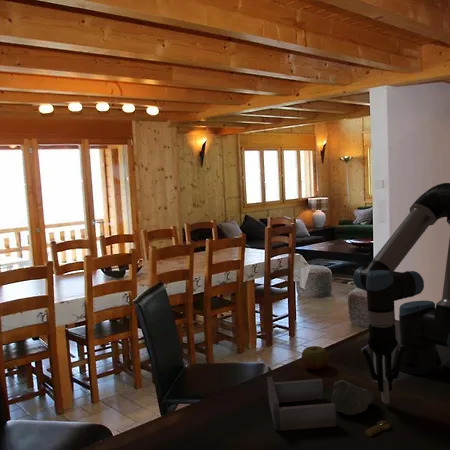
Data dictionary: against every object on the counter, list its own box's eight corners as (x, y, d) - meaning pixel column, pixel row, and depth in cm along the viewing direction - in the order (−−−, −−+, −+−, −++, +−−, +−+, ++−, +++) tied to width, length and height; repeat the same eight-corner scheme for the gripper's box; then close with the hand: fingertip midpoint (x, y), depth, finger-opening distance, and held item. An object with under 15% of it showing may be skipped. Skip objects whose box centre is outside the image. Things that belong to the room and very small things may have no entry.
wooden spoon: (382, 423, 142) (382, 419, 142) (392, 427, 139) (391, 423, 139) (363, 433, 137) (363, 429, 137) (373, 438, 135) (372, 433, 135)
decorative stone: (342, 422, 144) (362, 394, 143) (318, 396, 152) (337, 369, 151) (366, 429, 152) (386, 402, 151) (343, 404, 160) (361, 378, 159)
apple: (329, 362, 189) (328, 341, 189) (330, 373, 180) (328, 350, 179) (302, 363, 191) (301, 342, 190) (301, 373, 182) (300, 351, 181)
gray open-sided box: (322, 397, 161) (321, 372, 160) (336, 426, 142) (334, 398, 141) (268, 401, 161) (267, 376, 160) (275, 431, 142) (273, 403, 141)
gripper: (399, 318, 153) (402, 394, 155) (356, 321, 153) (360, 397, 155) (408, 325, 146) (412, 405, 148) (363, 329, 146) (367, 408, 148)
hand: (385, 401), depth 151 cm, fingers closed
